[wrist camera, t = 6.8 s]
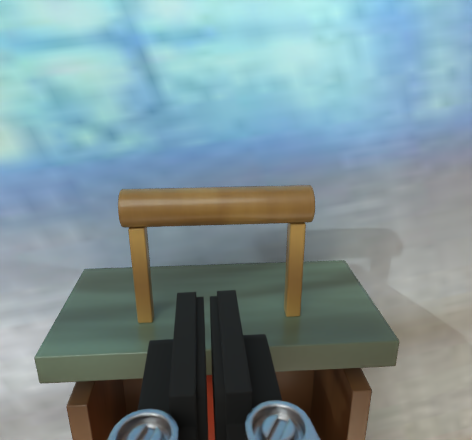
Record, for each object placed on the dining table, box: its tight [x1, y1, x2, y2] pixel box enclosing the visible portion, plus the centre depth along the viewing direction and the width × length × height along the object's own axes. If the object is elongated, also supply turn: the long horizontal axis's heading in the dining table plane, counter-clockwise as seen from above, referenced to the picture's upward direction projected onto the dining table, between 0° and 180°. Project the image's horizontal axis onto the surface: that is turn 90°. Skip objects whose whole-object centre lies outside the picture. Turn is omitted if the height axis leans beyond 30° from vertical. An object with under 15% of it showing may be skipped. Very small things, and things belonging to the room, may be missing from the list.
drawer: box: [35, 185, 399, 440], centre depth 20 cm, size 21×13×7 cm, turn 0°
